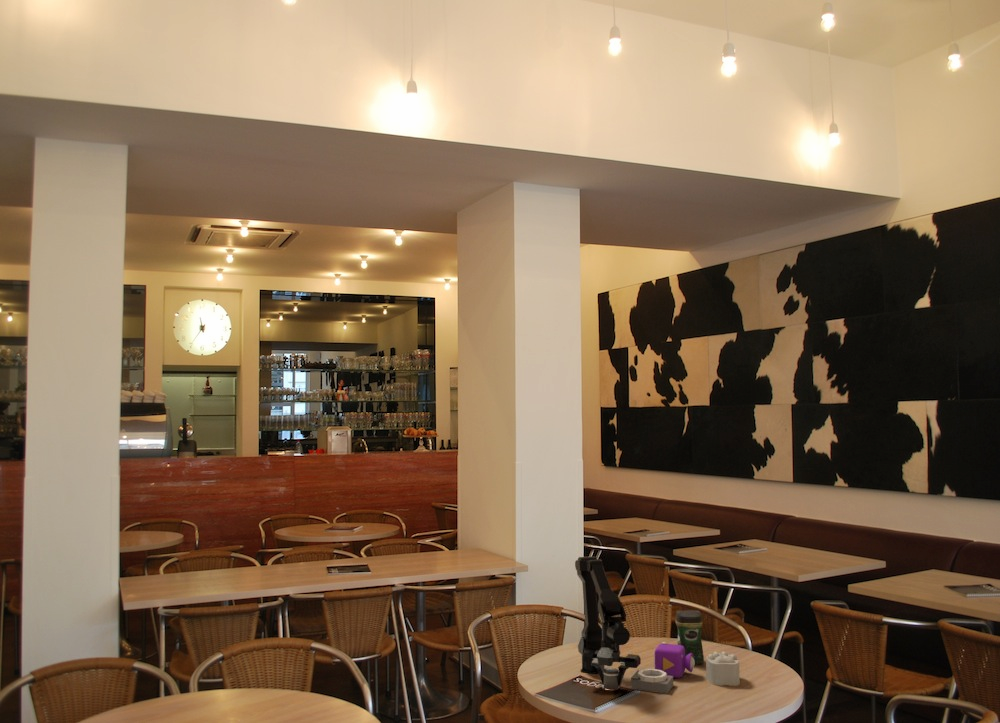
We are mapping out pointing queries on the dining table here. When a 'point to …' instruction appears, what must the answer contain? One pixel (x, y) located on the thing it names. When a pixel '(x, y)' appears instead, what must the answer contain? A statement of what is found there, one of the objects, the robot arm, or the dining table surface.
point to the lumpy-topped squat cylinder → (722, 669)
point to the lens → (611, 678)
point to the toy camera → (673, 659)
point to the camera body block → (652, 680)
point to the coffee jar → (690, 633)
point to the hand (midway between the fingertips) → (611, 684)
